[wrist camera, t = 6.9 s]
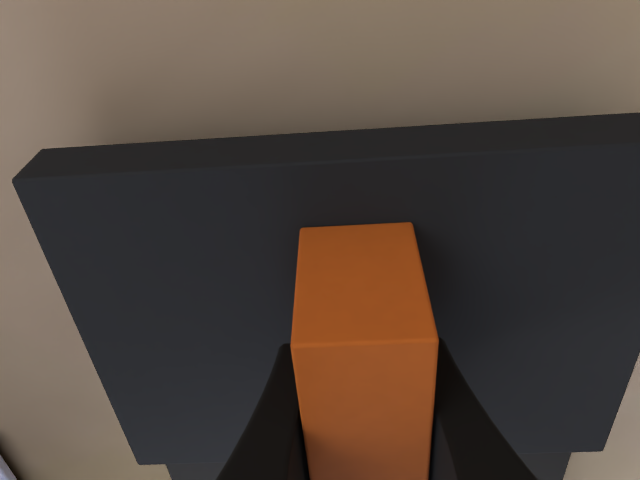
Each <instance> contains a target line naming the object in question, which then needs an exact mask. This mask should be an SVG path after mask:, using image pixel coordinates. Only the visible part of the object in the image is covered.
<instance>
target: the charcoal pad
mask: <svg viewBox="0 0 640 480" xmlns="http://www.w3.org/2000/svg"><path fill="white" fill-rule="evenodd" d="M12 183H13V185H14V187H15V190H16V192H17V194H18V196H19V199H20V201H21V203H22V205H23V208H24V210H25V212H26V214H27V216H28V219H29V221H30V223H31V225H32V228H33V230H34V232H35V234H36V237H37V239H38V241H39V243H40V246H41V248H42V250H43V252H44V255H45V257H46V259H47V261H48V264H49V266H50V268H51V270H52V272H53V275H54V277H55V279H56V281H57V284H58V286H59V288H60V290H61V293H62V295H63V297H64V299H65V302H66V304H67V306H68V308H69V311H70V313H71V315H72V317H73V320H74V322H75V324H76V326H77V328H78V331H79V333H80V335H81V337H82V340H83V342H84V344H85V346H86V349H87V351H88V353H89V355H90V358H91V360H92V362H93V364H94V367H95V369H96V371H97V373H98V376H99V378H100V380H101V382H102V384H103V387H104V389H105V391H106V393H107V396H108V398H109V400H110V402H111V405H112V407H113V409H114V411H115V414H116V416H117V418H118V420H119V423H120V425H121V427H122V429H123V432H124V434H125V436H126V438H127V440H128V443H129V445H130V447H131V449H132V452H133V454H134V456H135V458H136V461H137V463H138V464H139V465H151V464H185V463H220V462H227V461H228V459H229V457H230V455H231V454H232V452H233V450H234V448H235V446H236V445H237V443H238V441H239V439H240V437H241V435H242V434H243V432H244V430H245V428H246V426H247V424H248V422H249V420H250V418H251V416H252V414H253V412H254V410H255V408H256V406H257V404H258V402H259V399H260V397H261V395H262V393H263V391H264V388H265V386H266V384H267V381H268V379H269V376H270V374H271V371H272V369H273V366H274V363H275V360H276V357H277V354H278V350H279V347H280V346H281V345H283V344H285V343H291V345H290V347H291V354H292V361H293V367H294V374H295V381H296V388H297V395H298V402H299V409H300V416H301V423H302V430H303V437H304V443H305V450H306V457H307V464H308V471H309V478H310V480H429V468H430V454H431V440H432V427H433V413H434V399H435V386H436V372H437V358H438V345H439V339H438V337H441V338H442V339H443V340H444V341H445V343H446V345H447V347H448V349H449V351H450V353H451V355H452V357H453V359H454V361H455V363H456V365H457V366H458V368H459V370H460V372H461V373H462V375H463V377H464V378H465V380H466V382H467V383H468V385H469V387H470V388H471V390H472V391H473V393H474V395H475V396H476V398H477V399H478V401H479V402H480V404H481V405H482V407H483V408H484V409H485V411H486V412H487V414H488V415H489V417H490V418H491V420H492V421H493V423H494V424H495V425H496V427H497V428H498V430H499V431H500V432H501V434H502V435H503V436H504V438H505V439H506V440H507V442H508V443H509V444H510V446H511V447H512V448H513V450H514V451H515V452H516V453H517V454H528V453H563V452H597V451H603V450H604V447H605V444H606V441H607V439H608V436H609V433H610V431H611V428H612V425H613V423H614V420H615V417H616V415H617V412H618V409H619V407H620V404H621V401H622V399H623V396H624V393H625V390H626V388H627V385H628V382H629V380H630V377H631V374H632V372H633V369H634V366H635V364H636V361H637V358H638V356H639V353H640V113H625V114H608V115H592V116H575V117H559V118H543V119H526V120H510V121H493V122H477V123H461V124H444V125H428V126H411V127H395V128H379V129H362V130H346V131H329V132H313V133H297V134H280V135H264V136H248V137H231V138H215V139H198V140H182V141H166V142H149V143H133V144H116V145H100V146H84V147H67V148H51V149H42V150H40V152H39V153H38V154H37V155H36V156H35V157H34V158H33V159H32V160H31V161H30V162H29V163H28V164H27V165H26V166H25V167H24V168H23V169H22V170H21V171H20V172H19V173H18V174H17V175H16V176H15V177H14V178H13V179H12Z"/></svg>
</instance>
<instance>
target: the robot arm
mask: <svg viewBox="0 0 640 480" xmlns="http://www.w3.org/2000/svg"><path fill="white" fill-rule="evenodd" d="M438 339H439V345H438V358H437V372H436V386H435V399H434V413H433V427H432V440H431V454H430V468H429V480H538V479H537V478H536V476H535V475H534V474H533V473H532V472H531V471H530V469H529V468H528V467H527V466H526V465H525V463H524V462H523V461H522V460H521V458H520V457H519V456H518V455H517V453H516V452H515V451H514V450H513V448H512V447H511V446H510V444H509V443H508V442H507V440H506V439H505V438H504V436H503V435H502V434H501V432H500V431H499V430H498V428H497V427H496V425H495V424H494V423H493V421H492V420H491V418H490V417H489V415H488V414H487V412H486V411H485V409H484V408H483V407H482V405H481V404H480V402H479V401H478V399H477V398H476V396H475V395H474V393H473V391H472V390H471V388H470V387H469V385H468V383H467V382H466V380H465V378H464V377H463V375H462V373H461V372H460V370H459V368H458V366H457V365H456V363H455V361H454V359H453V357H452V355H451V353H450V351H449V349H448V347H447V345H446V343H445V341H444V340H443V339H442V338H441V337H438ZM290 345H291V343H285V344H283V345H281V346H280V347H279V350H278V354H277V357H276V360H275V363H274V366H273V369H272V371H271V374H270V376H269V379H268V381H267V384H266V386H265V388H264V391H263V393H262V395H261V397H260V399H259V402H258V404H257V406H256V408H255V410H254V412H253V414H252V416H251V418H250V420H249V422H248V424H247V426H246V428H245V430H244V432H243V434H242V435H241V437H240V439H239V441H238V443H237V445H236V446H235V448H234V450H233V452H232V454H231V455H230V457H229V459H228V461H227V462H226V464H225V466H224V467H223V469H222V470H221V472H220V474H219V475H218V477H217V478H216V480H310V478H309V471H308V464H307V457H306V450H305V443H304V437H303V430H302V423H301V416H300V409H299V402H298V395H297V388H296V381H295V374H294V367H293V361H292V354H291V347H290ZM0 480H17V479H16V477H15V476H14V474H13V473H12V471H11V470H10V468H9V467H8V465H7V464H6V463H5V461H4V460H3V458H2V457H1V455H0Z"/></svg>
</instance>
